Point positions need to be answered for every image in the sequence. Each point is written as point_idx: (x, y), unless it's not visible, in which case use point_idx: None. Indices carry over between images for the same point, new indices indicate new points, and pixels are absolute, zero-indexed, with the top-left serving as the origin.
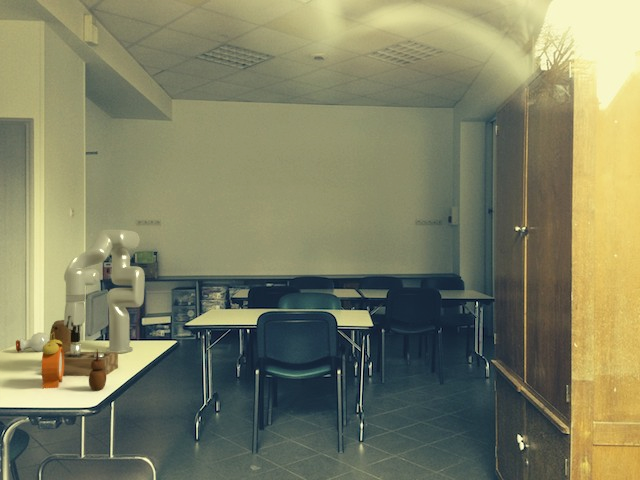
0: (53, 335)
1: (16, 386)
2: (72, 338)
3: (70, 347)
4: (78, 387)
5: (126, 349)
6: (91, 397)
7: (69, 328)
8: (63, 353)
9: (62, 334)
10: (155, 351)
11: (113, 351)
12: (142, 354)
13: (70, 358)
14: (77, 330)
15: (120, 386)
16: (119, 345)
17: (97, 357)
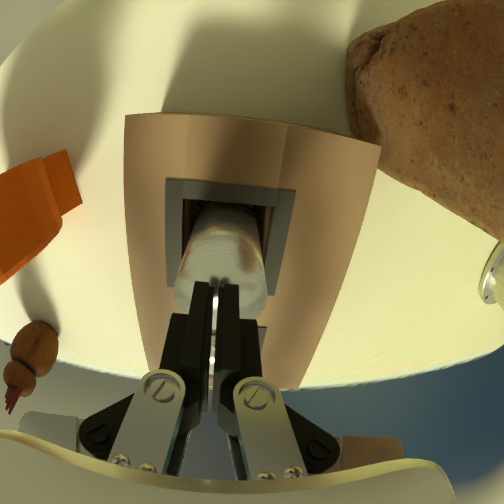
0: (464, 23)
1: (21, 72)
2: (169, 328)
3: (198, 245)
4: (39, 285)
5: (490, 294)
6: (8, 325)
7: (29, 430)
8: (11, 273)
9: (486, 121)
10: (452, 351)
11: (492, 265)
12: (440, 338)
13: (138, 239)
14: (178, 439)
15: (81, 367)
16: (500, 290)
17: (5, 395)
